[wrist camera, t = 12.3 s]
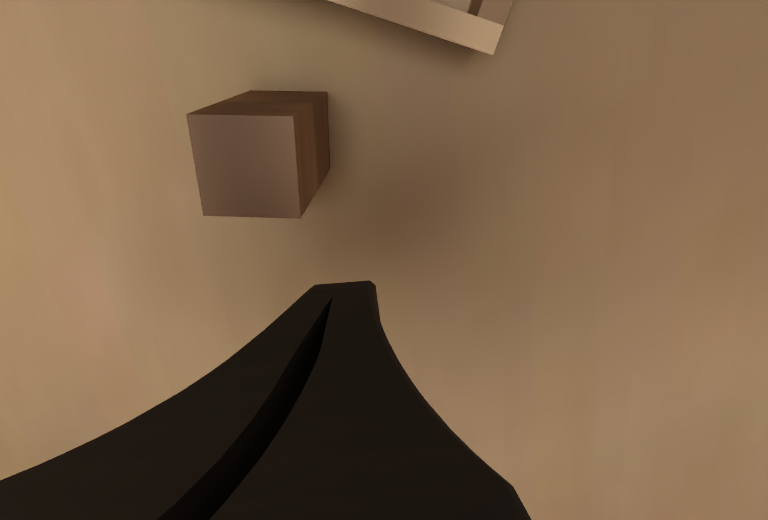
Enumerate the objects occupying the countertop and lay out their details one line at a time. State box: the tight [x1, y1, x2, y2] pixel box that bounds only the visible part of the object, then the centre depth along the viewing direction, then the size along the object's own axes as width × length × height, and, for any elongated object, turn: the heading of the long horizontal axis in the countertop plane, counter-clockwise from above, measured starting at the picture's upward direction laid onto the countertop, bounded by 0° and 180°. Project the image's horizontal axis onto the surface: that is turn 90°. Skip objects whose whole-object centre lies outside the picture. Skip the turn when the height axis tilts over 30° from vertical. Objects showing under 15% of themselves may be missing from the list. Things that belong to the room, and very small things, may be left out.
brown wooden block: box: [186, 91, 330, 218], centre depth 16 cm, size 3×3×6 cm
